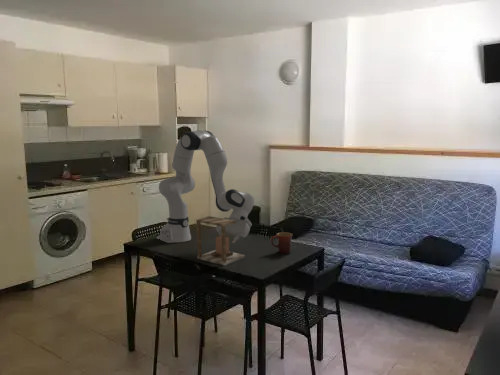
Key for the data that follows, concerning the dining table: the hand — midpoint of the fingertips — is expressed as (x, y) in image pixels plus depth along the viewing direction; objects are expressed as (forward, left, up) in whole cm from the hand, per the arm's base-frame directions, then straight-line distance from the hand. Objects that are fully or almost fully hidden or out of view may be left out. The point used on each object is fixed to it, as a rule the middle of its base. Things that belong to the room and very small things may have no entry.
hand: (226, 240), depth 228 cm
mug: (+21, +22, -9) cm, 32 cm away
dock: (0, -4, -8) cm, 9 cm away
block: (0, -3, -7) cm, 8 cm away
